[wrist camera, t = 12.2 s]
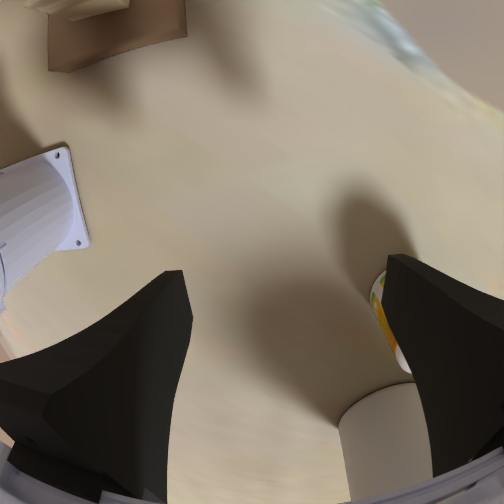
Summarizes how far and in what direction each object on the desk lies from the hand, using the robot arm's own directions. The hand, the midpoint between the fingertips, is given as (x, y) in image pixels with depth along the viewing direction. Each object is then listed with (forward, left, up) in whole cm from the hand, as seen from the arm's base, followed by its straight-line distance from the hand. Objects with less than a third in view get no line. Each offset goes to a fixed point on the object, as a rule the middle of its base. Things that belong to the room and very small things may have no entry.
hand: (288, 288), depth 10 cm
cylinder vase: (+13, -27, -11) cm, 32 cm away
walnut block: (-9, +16, -11) cm, 21 cm away
